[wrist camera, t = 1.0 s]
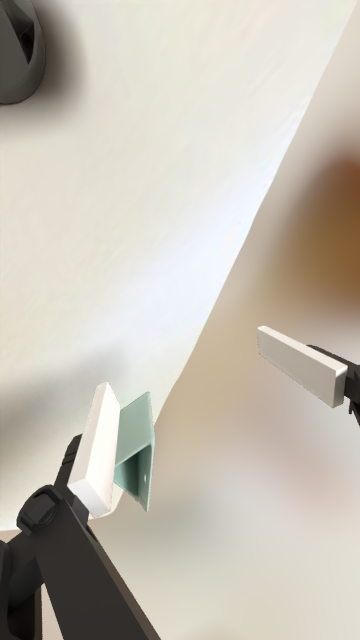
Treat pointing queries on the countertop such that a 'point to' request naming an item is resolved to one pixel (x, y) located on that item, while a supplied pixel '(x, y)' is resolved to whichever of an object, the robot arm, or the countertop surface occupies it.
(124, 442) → the planter
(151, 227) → the countertop surface
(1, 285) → the countertop surface
